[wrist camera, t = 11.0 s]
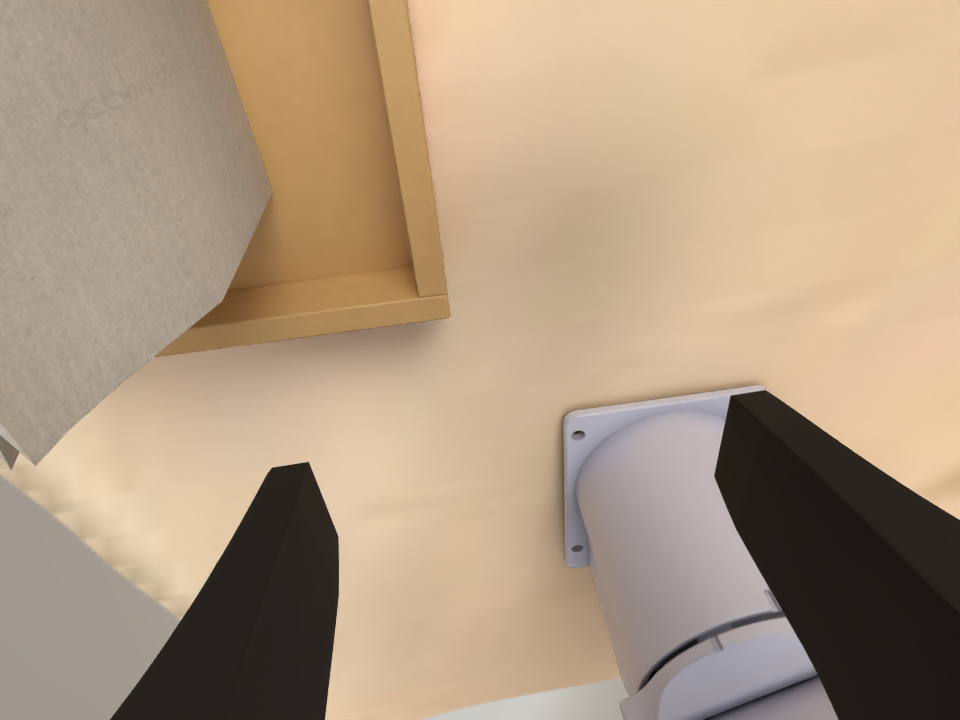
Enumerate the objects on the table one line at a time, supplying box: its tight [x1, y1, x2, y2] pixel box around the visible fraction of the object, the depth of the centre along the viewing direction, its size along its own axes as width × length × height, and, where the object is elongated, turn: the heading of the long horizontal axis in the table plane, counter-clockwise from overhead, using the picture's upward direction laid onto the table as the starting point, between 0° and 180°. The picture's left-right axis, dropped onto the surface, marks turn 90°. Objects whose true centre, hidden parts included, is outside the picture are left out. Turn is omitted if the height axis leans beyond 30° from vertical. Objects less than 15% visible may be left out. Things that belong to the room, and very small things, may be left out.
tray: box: [154, 0, 450, 357], centre depth 14 cm, size 14×13×2 cm
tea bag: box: [0, 0, 273, 470], centre depth 11 cm, size 4×7×10 cm, turn 7°
